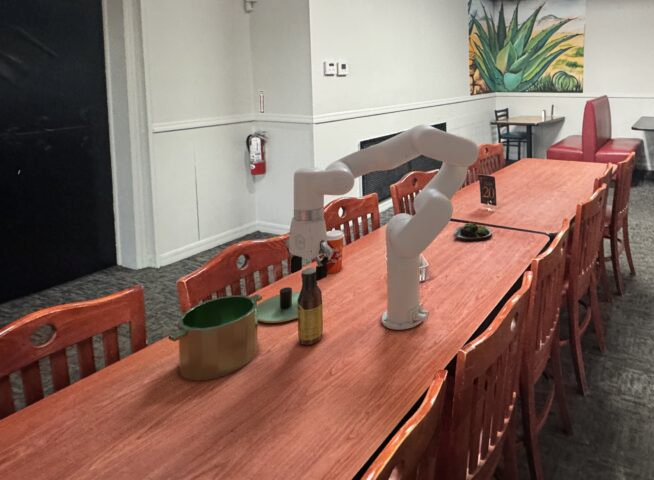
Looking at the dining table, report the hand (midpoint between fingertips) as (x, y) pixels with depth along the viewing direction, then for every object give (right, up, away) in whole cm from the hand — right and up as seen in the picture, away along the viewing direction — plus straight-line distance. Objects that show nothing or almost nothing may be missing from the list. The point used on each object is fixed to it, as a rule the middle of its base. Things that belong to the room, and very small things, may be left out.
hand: (308, 275), depth 123 cm
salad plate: (+38, -15, +83) cm, 92 cm away
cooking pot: (-19, -19, -7) cm, 28 cm away
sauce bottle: (0, -19, +1) cm, 19 cm away
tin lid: (-15, -17, +17) cm, 28 cm away
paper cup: (-11, -16, +45) cm, 49 cm away
